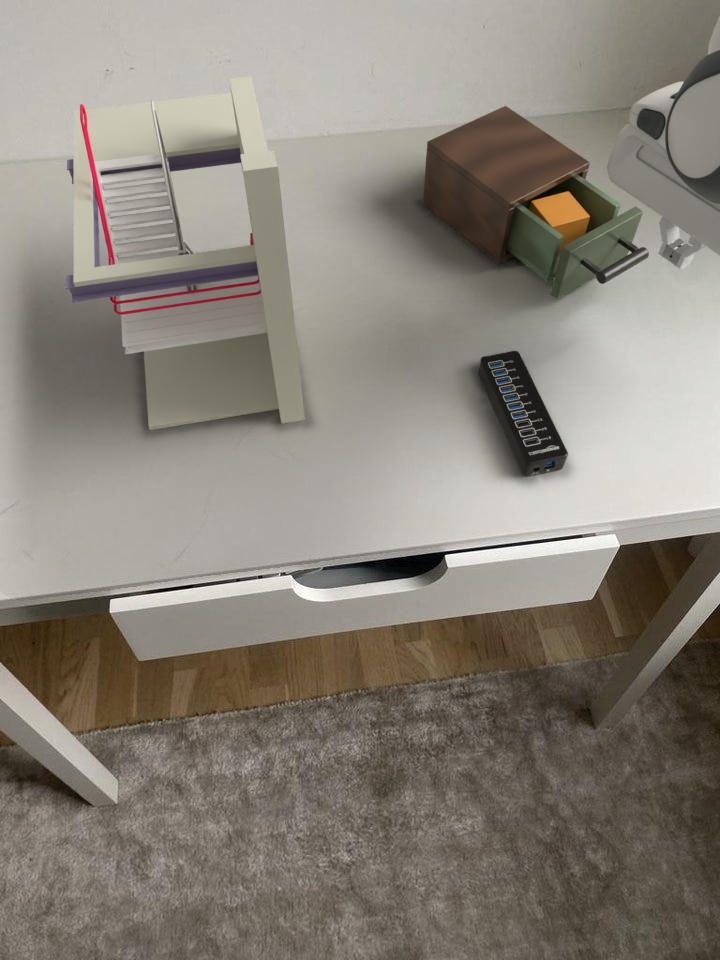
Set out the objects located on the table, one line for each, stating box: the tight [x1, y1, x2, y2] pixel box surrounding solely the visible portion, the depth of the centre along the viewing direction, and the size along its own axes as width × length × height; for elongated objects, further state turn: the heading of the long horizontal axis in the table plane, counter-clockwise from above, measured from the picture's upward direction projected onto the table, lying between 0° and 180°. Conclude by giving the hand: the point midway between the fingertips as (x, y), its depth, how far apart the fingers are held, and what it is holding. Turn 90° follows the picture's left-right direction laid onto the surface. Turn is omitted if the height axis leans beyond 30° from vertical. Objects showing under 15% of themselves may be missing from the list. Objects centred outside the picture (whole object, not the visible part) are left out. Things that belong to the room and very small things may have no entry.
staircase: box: [65, 75, 306, 431], centre depth 74 cm, size 27×18×30 cm
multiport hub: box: [477, 350, 569, 478], centre depth 79 cm, size 4×14×2 cm, turn 14°
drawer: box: [506, 174, 650, 300], centre depth 90 cm, size 18×12×7 cm, turn 36°
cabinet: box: [422, 105, 591, 265], centre depth 95 cm, size 15×13×9 cm
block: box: [529, 191, 590, 257], centre depth 90 cm, size 5×5×5 cm
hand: (673, 259), depth 79 cm, fingers closed
